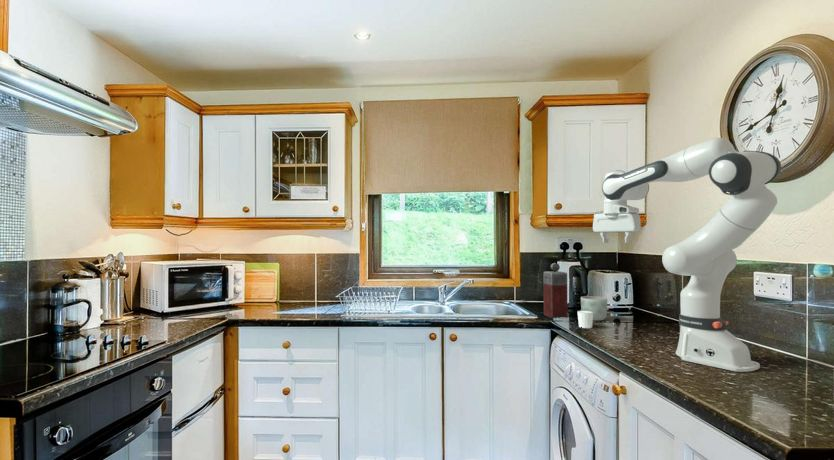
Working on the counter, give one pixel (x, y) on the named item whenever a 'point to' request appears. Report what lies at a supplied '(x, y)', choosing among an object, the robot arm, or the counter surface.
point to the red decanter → (555, 292)
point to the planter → (595, 306)
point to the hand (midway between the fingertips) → (615, 242)
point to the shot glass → (585, 319)
